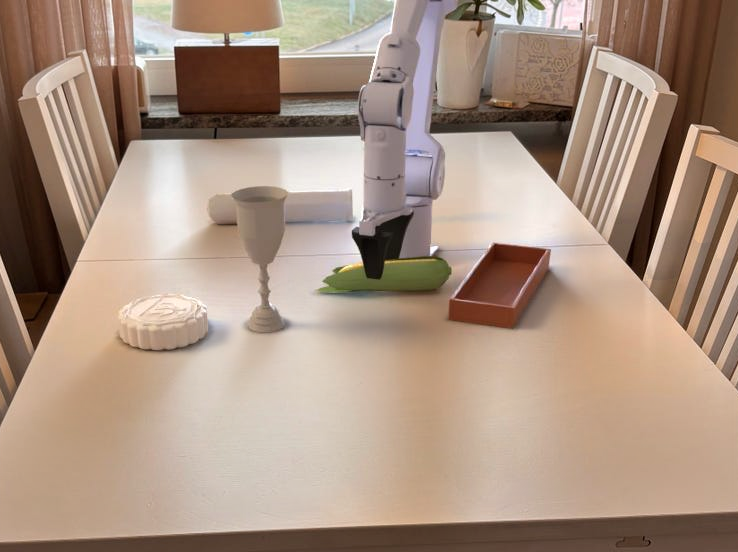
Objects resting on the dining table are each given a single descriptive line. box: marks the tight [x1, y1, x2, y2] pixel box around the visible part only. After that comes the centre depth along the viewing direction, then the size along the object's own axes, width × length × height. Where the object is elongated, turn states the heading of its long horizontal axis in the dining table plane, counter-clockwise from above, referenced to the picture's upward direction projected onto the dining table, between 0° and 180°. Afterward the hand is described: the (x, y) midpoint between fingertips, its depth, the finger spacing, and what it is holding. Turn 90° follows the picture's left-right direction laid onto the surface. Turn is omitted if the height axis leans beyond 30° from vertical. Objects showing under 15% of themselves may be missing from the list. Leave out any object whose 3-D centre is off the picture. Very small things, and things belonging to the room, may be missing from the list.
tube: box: [206, 187, 354, 225], centre depth 177 cm, size 5×5×25 cm
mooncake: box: [117, 293, 209, 351], centre depth 139 cm, size 12×12×4 cm
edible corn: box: [314, 255, 453, 294], centre depth 150 cm, size 5×20×5 cm, turn 94°
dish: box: [447, 242, 552, 329], centre depth 149 cm, size 9×24×3 cm, turn 158°
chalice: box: [231, 185, 288, 333], centre depth 137 cm, size 7×7×18 cm
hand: (382, 268), depth 149 cm, fingers open, 7 cm apart
